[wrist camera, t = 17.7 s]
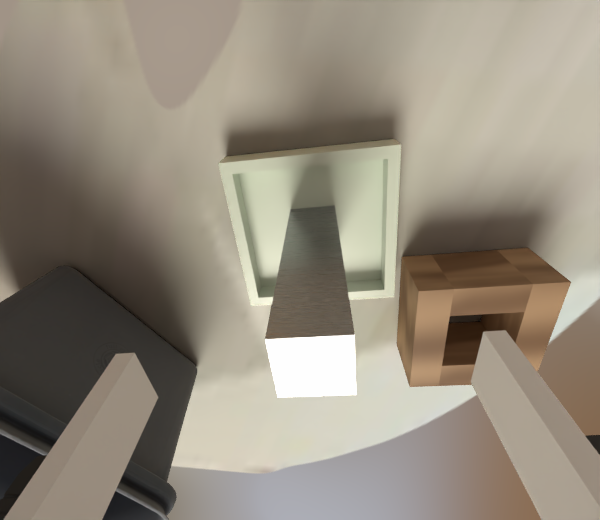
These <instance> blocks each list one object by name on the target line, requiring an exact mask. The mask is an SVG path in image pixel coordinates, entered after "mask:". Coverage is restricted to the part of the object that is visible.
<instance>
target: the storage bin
mask: <svg viewBox="0 0 600 520" xmlns="http://www.w3.org/2000/svg"><path fill="white" fill-rule="evenodd" d="M121 353H135V354H136V356H137V358H138V360H139V362H140V364H141V366H142V368H143V369H144V371H145V373H146V375H147V377H148V379H149V381H150V383H151V384H152V386H153V388H154V390H155V392H156V394H157V396H158V399H157V401H156V404H155V406H154V408H153V410H152V412H151V414H150V417H149V419H148V421H147V423H146V425H145V427H144V430H143V432H142V434H141V436H140V438H139V441H138V443H137V445H136V447H135V449H134V451H133V454H132V456H131V458H130V460H129V462H128V464H127V467H126V469H125V471H124V473H123V475H122V478H121V480H120V482H119V484H118V486H117V488H116V491H115V493H114V495H113V497H112V499H111V501H110V504H109V506H108V508H107V510H106V512H105V515H104V517H103V519H102V520H169V519H168V517H167V516H166V515H168V514H169V513H170V511H171V510H172V508H173V506H174V503H175V501H176V492H175V490H174V489H173V487H172V486H171V485H170V484H169V483H167V479H168V475H169V472H170V468H171V464H172V461H173V457H174V453H175V450H176V446H177V442H178V439H179V435H180V431H181V428H182V424H183V420H184V417H185V413H186V410H187V406H188V403H189V400H190V396H191V392H192V389H193V385H194V382H195V378H196V375H197V368H196V366H195V365H194V364H193V363H192V362H191V361H190V360H189V359H187V358H186V357H185V356H184V355H182V354H181V353H180V352H178V351H177V350H176V349H175V348H173V347H172V346H171V345H170V344H168V343H167V342H166V341H165V340H163V339H162V338H161V337H160V336H158V335H157V334H156V333H155V332H153V331H152V330H151V329H150V328H148V327H147V326H146V325H145V324H143V323H142V322H141V321H140V320H138V319H137V318H136V317H135V316H133V315H132V314H131V313H130V312H128V311H127V310H126V309H125V308H123V307H122V306H121V305H120V304H118V303H117V302H116V301H115V300H113V299H112V298H111V297H110V296H108V295H107V294H106V293H104V292H103V291H102V290H101V289H99V288H98V287H97V286H96V285H94V284H93V283H92V282H91V281H90V280H88V279H87V278H86V277H85V276H83V275H82V274H81V273H80V272H78V271H77V270H75V269H74V268H72V267H69V266H60V267H58V268H56V269H54V270H53V271H51V272H49V273H48V274H46V275H45V276H43V277H41V278H40V279H38V280H36V281H35V282H33V283H31V284H30V285H28V286H27V287H25V288H23V289H22V290H20V291H18V292H17V293H15V294H13V295H12V296H10V297H9V298H7V299H5V300H4V301H2V302H0V499H2V498H3V497H4V494H5V492H6V491H7V490H8V488H9V487H10V485H11V484H12V483H13V481H14V480H15V478H16V477H17V476H18V474H19V473H20V472H21V471H22V470H23V469H24V468H25V467H26V466H27V465H29V464H30V463H31V462H32V461H33V460H34V459H35V458H36V457H37V456H43V455H48V453H49V452H50V450H51V449H52V447H53V446H54V444H55V443H56V442H57V440H58V439H59V437H60V436H61V434H62V433H63V431H64V430H65V428H66V427H67V425H68V424H69V422H70V421H71V419H72V418H73V416H74V415H75V414H76V412H77V411H78V409H79V408H80V406H81V405H82V403H83V402H84V400H85V399H86V397H87V396H88V394H89V393H90V391H91V390H92V388H93V387H94V386H95V384H96V383H97V381H98V380H99V378H100V377H101V375H102V374H103V372H104V371H105V369H106V368H107V366H108V365H109V363H110V362H111V360H112V359H113V358H114V356H115V355H116V354H121Z"/></svg>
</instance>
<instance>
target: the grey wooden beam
mask: <svg viewBox="0 0 600 520" xmlns="http://www.w3.org/2000/svg"><path fill="white" fill-rule="evenodd" d="M265 341H266V346H267V351H268V355H269V360H270V364H271V369H272V374H273V378H274V383H275V387H276V392H277V397H305V396H335V395H356V365H355V335H354V328H353V321H352V315H351V308H350V302H349V295H348V289H347V282H346V275H345V269H344V262H343V256H342V249H341V243H340V236H339V229H338V223H337V216H336V210H335V205H333V206H322V207H311V208H299V209H290V214H289V219H288V224H287V229H286V234H285V239H284V245H283V250H282V255H281V260H280V265H279V270H278V275H277V281H276V286H275V291H274V296H273V301H272V306H271V311H270V317H269V322H268V327H267V332H266V337H265Z"/></svg>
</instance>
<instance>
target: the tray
mask: <svg viewBox="0 0 600 520" xmlns="http://www.w3.org/2000/svg"><path fill="white" fill-rule="evenodd" d="M400 162H401V144H400V143H399V142H397V141H396V140H395V139H388V140H378V141H369V142H359V143H350V144H340V145H331V146H321V147H312V148H302V149H292V150H283V151H273V152H264V153H254V154H245V155H235V156H226V157H225V158H224V159H223V160H221V161H220V162H219V163H218V165H219V170H220V174H221V178H222V183H223V187H224V191H225V196H226V200H227V204H228V209H229V213H230V217H231V222H232V226H233V230H234V235H235V239H236V243H237V248H238V252H239V256H240V261H241V265H242V269H243V274H244V278H245V282H246V287H247V291H248V295H249V300H250V304H251V306H258V305H272V301H273V296H274V291H275V286H276V281H277V275H278V270H279V265H280V260H281V255H282V250H283V245H284V239H285V234H286V229H287V224H288V219H289V214H290V209H299V208H311V207H322V206H333V205H335V210H336V216H337V223H338V229H339V236H340V243H341V249H342V256H343V262H344V269H345V275H346V282H347V289H348V295H349V300H357V299H373V298H390V297H394V290H395V269H396V247H397V226H398V204H399V183H400Z"/></svg>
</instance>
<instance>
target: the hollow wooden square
mask: <svg viewBox="0 0 600 520" xmlns="http://www.w3.org/2000/svg"><path fill="white" fill-rule="evenodd" d="M570 283H571V282H570V281H569V280H568V279H567V278H565V277H564V276H563V275H562V274H560V273H559V272H558V271H557V270H555V269H554V268H553V267H552V266H550V265H549V264H548V263H547V262H545V261H544V260H543V259H541V258H540V257H539V256H538V255H536V254H535V253H534V252H533V251H531V250H530V249H529V248H517V249H503V250H489V251H475V252H461V253H447V254H433V255H419V256H405V257H402V262H401V280H400V297H399V315H398V332H397V347H398V350H399V353H400V356H401V360H402V363H403V366H404V369H405V373H406V376H407V379H408V383H409V386H410V387H419V386H447V385H472V384H471V379H472V375H473V371H474V367H475V363H476V359H477V355H478V351H479V347H480V343H481V339H482V335H483V332H485V331H502V330H506V331H507V333H508V334H509V335H510V337H511V338H512V339H513V341H514V342H515V343H516V345H517V346H518V347H519V349H520V350H521V351H522V353H523V354H524V355H525V357H526V358H527V359H528V361H529V362H530V363H531V365H532V366H533V367H534V369H535V370H536V371H537V372H538V369H539V366H540V364H541V360H542V358H543V356H544V353H545V350H546V347H547V345H548V342H549V340H550V337H551V334H552V332H553V329H554V326H555V324H556V321H557V318H558V316H559V313H560V310H561V308H562V305H563V302H564V299H565V297H566V294H567V291H568V289H569V286H570ZM479 314H482V319H481V322H464V323H449V318H450V316H461V315H479Z"/></svg>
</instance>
